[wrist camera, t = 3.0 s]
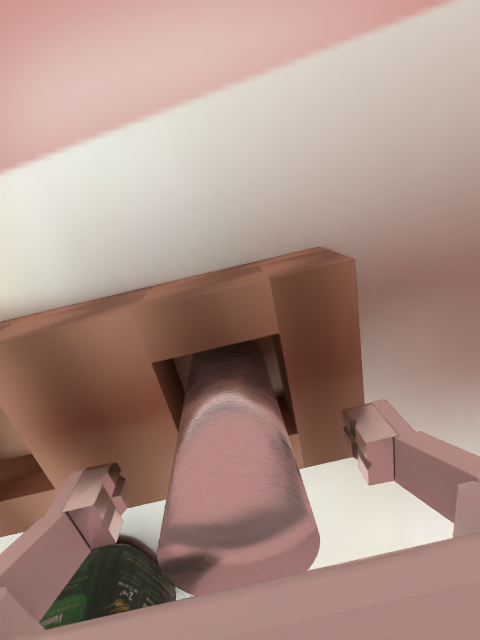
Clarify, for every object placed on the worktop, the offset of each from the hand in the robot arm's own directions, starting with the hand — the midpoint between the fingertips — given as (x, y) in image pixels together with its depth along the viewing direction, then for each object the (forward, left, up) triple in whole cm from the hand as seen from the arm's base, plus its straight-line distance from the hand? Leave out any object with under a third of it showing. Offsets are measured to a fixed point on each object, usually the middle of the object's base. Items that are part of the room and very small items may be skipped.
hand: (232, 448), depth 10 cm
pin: (0, 0, -6) cm, 6 cm away
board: (+6, 0, -7) cm, 9 cm away
